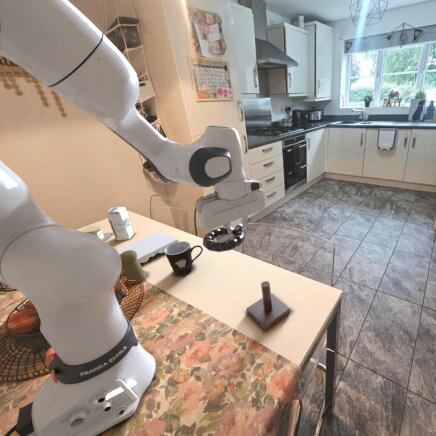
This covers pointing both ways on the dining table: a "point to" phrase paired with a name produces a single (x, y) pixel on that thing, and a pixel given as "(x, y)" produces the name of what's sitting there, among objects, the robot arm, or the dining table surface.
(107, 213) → the syrup box
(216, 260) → the dining table surface
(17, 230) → the robot arm
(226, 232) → the ring
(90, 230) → the stacked layers on plate
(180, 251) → the coffee mug
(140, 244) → the food packaging
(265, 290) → the peg stand
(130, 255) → the olive flared cylinder
